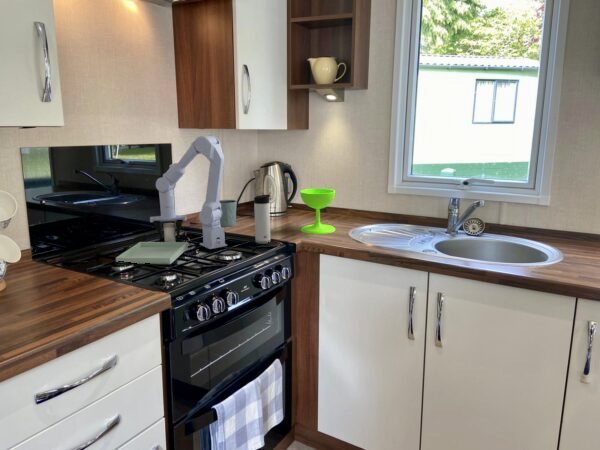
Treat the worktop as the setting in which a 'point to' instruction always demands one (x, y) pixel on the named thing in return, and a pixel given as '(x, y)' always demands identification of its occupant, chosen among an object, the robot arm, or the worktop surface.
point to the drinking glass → (228, 213)
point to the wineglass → (317, 208)
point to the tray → (153, 252)
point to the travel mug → (262, 219)
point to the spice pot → (169, 232)
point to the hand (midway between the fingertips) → (169, 238)
